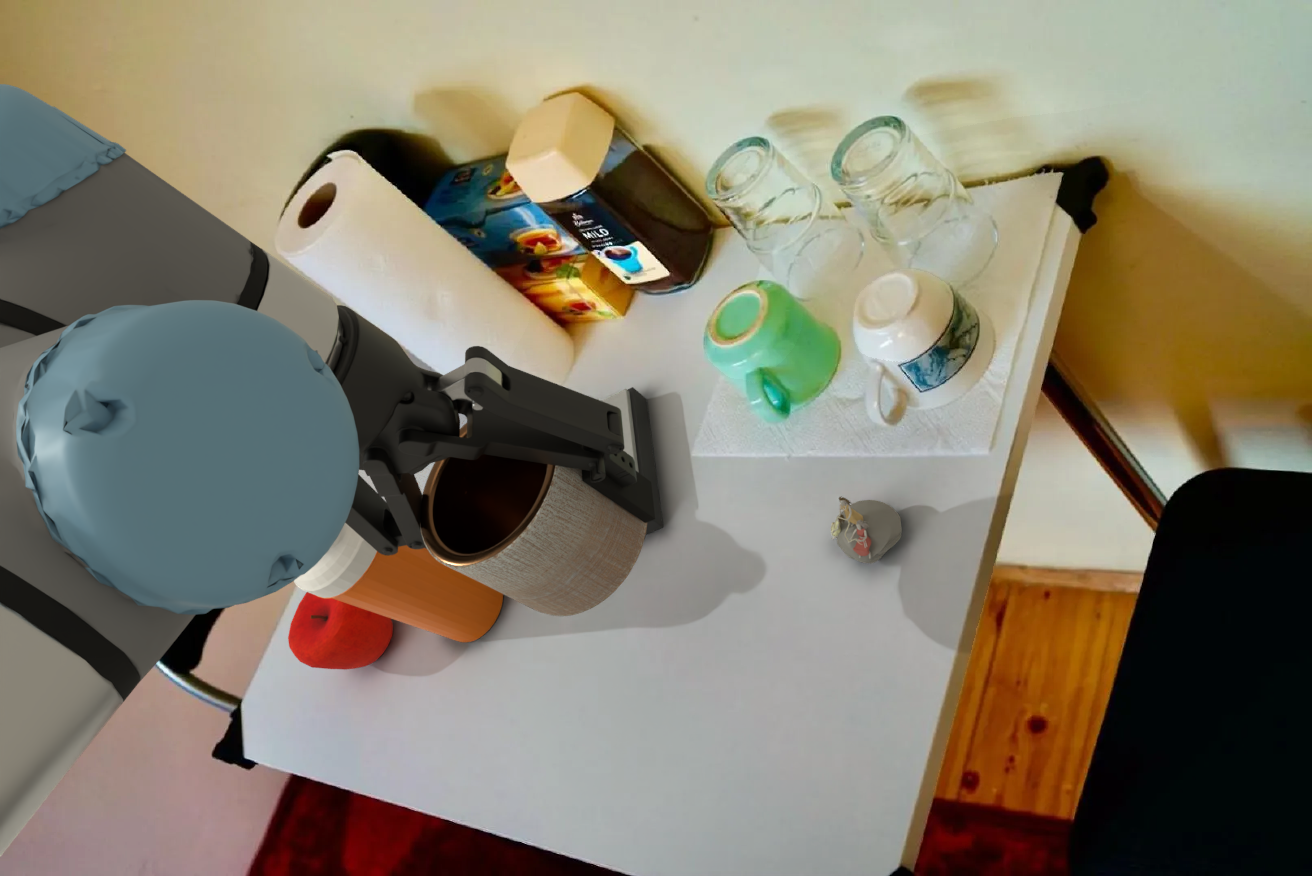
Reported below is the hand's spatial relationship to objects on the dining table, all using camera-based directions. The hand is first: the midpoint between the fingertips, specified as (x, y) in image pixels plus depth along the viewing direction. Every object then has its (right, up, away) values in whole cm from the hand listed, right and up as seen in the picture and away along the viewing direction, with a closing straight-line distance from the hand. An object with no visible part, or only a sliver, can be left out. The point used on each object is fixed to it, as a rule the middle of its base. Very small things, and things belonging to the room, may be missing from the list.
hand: (574, 533), depth 58 cm
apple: (-23, -14, +31) cm, 41 cm away
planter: (+1, -1, +1) cm, 1 cm away
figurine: (+21, -1, +7) cm, 22 cm away
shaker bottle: (-12, -10, +26) cm, 30 cm away
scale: (0, +2, +24) cm, 24 cm away
